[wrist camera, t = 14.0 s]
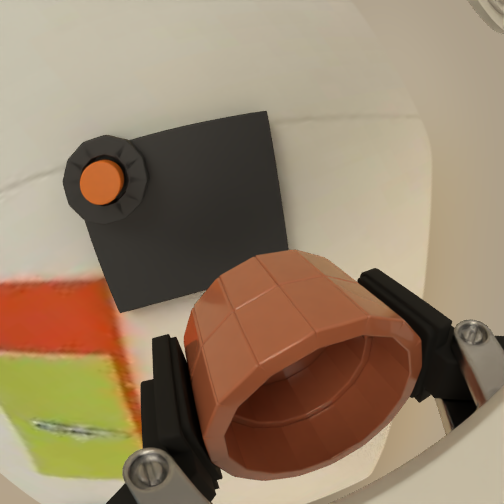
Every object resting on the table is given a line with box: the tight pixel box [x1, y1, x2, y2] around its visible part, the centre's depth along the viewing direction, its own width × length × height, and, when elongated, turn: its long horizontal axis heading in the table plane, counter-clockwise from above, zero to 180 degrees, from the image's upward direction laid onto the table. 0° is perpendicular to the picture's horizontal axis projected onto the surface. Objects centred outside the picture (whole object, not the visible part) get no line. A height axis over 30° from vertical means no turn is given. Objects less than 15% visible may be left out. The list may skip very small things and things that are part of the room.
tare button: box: [80, 160, 124, 205], centre depth 17 cm, size 3×3×2 cm
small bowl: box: [184, 250, 422, 481], centre depth 9 cm, size 6×6×4 cm
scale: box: [63, 111, 288, 313], centre depth 21 cm, size 13×14×3 cm
